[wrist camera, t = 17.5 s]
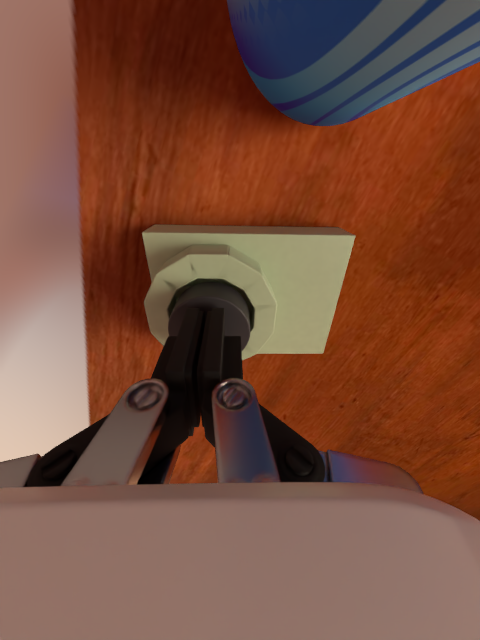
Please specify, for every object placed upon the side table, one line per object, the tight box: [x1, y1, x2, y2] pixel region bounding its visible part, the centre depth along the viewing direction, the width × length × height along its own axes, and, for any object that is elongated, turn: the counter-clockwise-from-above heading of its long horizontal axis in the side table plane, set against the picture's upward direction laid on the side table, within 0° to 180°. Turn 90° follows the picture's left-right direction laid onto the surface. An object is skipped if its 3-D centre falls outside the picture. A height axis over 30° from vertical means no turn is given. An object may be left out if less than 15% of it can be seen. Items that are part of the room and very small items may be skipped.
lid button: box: [168, 282, 250, 351], centre depth 12 cm, size 4×4×2 cm
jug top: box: [142, 225, 355, 360], centre depth 14 cm, size 11×8×4 cm
